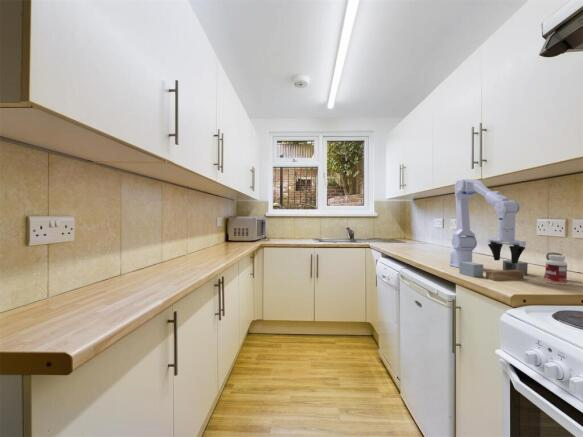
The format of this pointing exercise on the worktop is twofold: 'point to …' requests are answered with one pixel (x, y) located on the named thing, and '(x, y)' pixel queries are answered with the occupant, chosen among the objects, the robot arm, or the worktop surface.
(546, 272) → the pill bottle
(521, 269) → the end cap fixed
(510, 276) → the slat
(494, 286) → the worktop surface
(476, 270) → the blue-grey block
